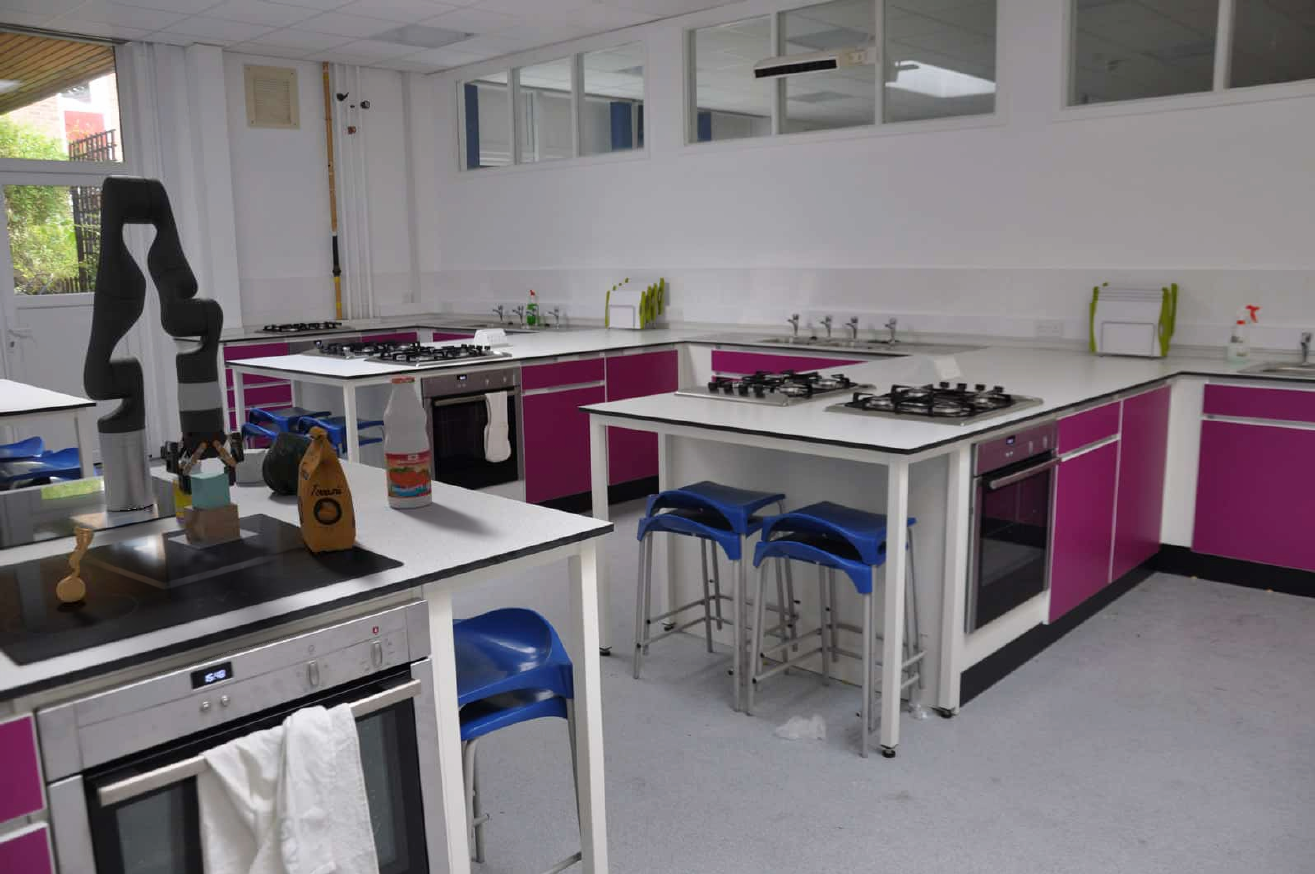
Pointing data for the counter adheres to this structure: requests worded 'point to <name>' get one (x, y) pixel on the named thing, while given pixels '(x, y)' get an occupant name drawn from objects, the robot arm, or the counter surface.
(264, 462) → the squash
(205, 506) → the teal block
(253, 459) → the skincare box
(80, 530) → the figurine
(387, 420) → the fruit juice
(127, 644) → the counter surface
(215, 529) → the walnut block
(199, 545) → the slate pad
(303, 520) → the coffee package
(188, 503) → the supplement bottle
